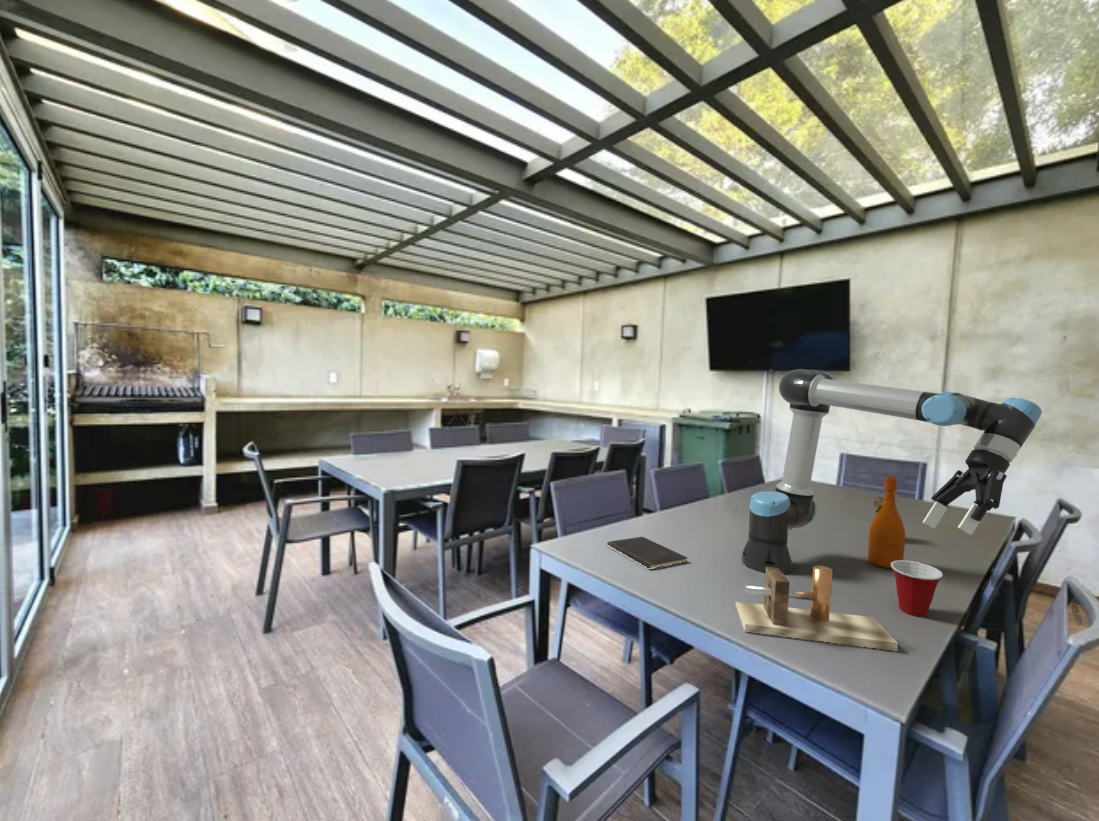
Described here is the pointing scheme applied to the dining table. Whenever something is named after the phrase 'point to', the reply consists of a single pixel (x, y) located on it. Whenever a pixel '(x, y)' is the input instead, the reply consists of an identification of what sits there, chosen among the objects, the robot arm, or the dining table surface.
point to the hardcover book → (647, 552)
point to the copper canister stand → (809, 620)
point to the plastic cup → (915, 586)
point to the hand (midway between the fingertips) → (945, 528)
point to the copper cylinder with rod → (808, 593)
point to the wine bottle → (887, 530)
